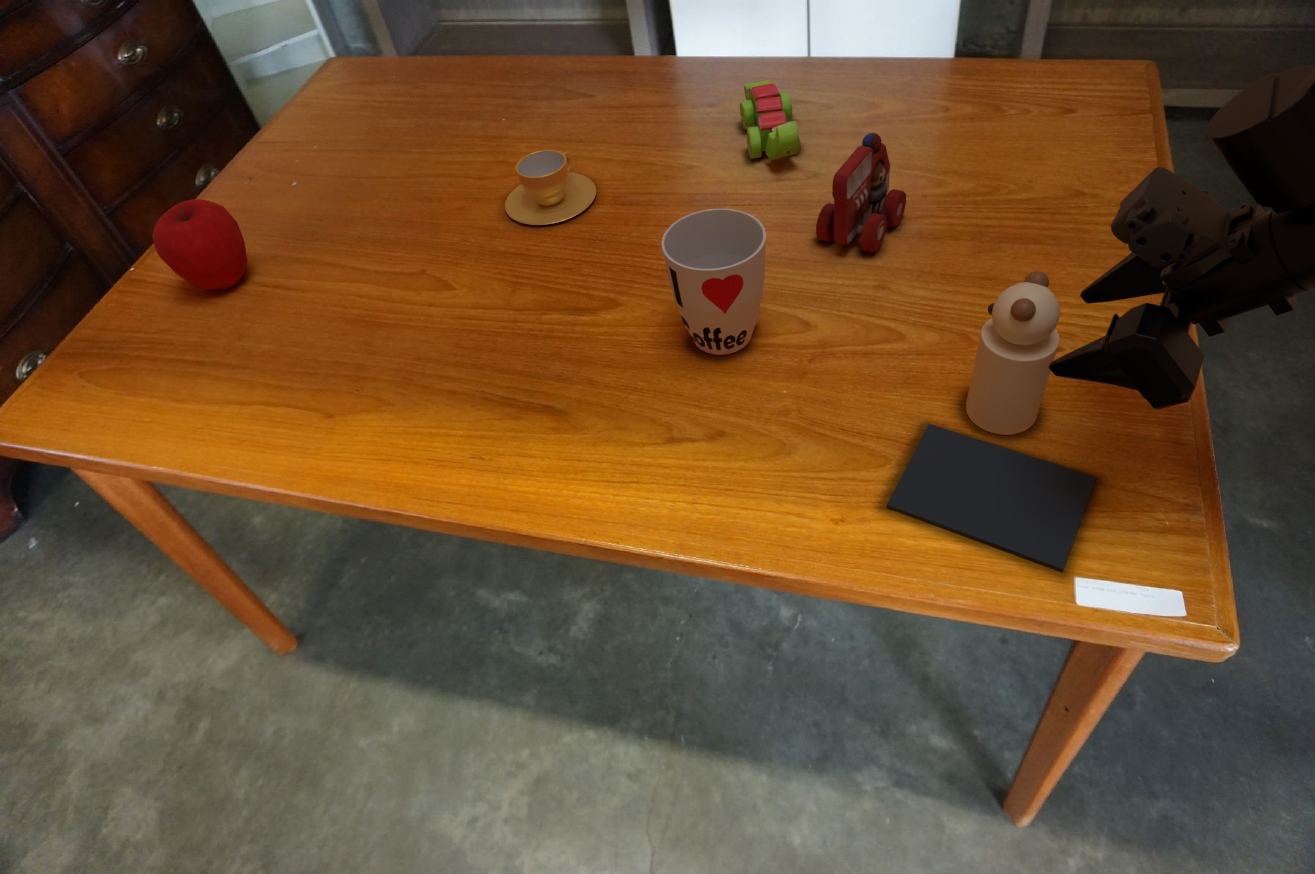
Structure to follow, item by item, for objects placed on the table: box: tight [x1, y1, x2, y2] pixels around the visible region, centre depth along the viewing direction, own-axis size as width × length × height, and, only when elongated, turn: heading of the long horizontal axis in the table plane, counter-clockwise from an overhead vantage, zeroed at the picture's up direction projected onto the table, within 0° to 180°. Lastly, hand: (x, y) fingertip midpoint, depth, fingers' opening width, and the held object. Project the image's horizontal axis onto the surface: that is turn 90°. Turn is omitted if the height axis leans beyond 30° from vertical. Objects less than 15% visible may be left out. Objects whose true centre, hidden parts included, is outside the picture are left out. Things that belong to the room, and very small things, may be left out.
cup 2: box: [661, 208, 767, 356], centre depth 82 cm, size 10×10×12 cm
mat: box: [886, 423, 1097, 573], centre depth 69 cm, size 14×10×1 cm
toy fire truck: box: [815, 132, 907, 253], centre depth 91 cm, size 7×12×10 cm, turn 146°
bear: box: [965, 270, 1061, 436], centre depth 70 cm, size 6×6×14 cm
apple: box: [151, 198, 248, 290], centre depth 102 cm, size 10×10×11 cm
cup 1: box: [504, 149, 597, 226], centre depth 106 cm, size 12×12×5 cm
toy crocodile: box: [739, 79, 802, 161], centre depth 109 cm, size 20×7×6 cm, turn 3°
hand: (1068, 332), depth 66 cm, fingers open, 9 cm apart
